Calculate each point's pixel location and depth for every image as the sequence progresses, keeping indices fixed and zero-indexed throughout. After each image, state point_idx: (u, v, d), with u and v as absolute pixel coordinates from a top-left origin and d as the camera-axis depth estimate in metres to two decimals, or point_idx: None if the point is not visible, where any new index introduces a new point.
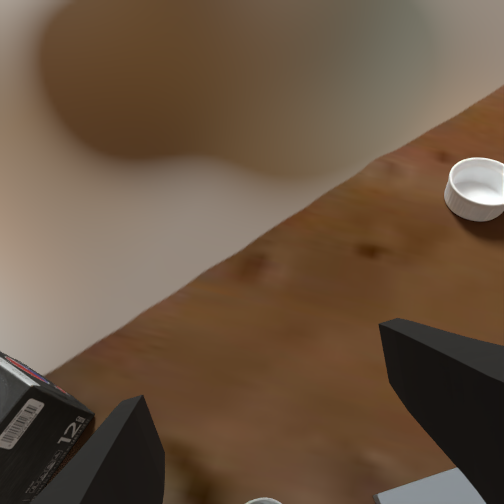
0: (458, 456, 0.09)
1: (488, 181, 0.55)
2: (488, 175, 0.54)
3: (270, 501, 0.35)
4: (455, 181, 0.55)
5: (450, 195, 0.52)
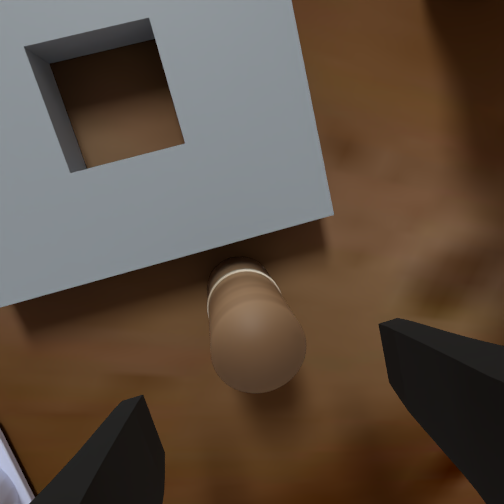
0: (458, 456, 0.09)
1: None
2: None
3: None
4: None
5: None
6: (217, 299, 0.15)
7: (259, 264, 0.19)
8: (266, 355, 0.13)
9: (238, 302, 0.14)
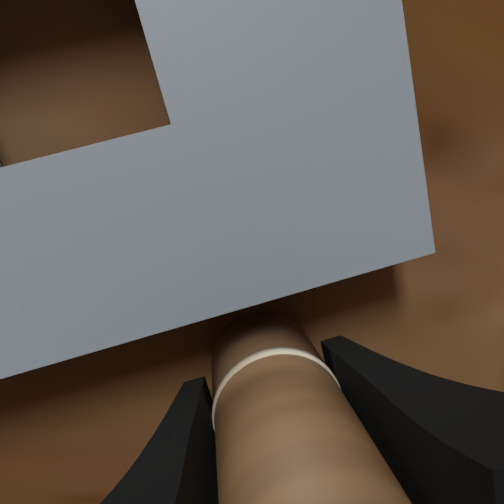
0: None
1: None
2: None
3: None
4: None
5: None
6: (233, 427, 0.08)
7: (296, 326, 0.12)
8: None
9: (285, 470, 0.06)
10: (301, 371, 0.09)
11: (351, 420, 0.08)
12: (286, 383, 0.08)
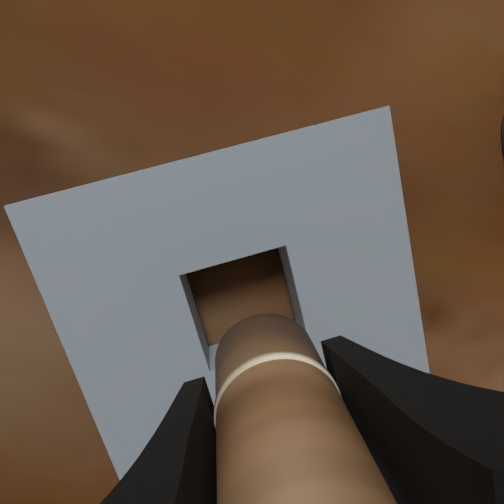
0: (386, 480, 0.09)
1: None
2: None
3: None
4: None
5: None
6: (229, 435, 0.08)
7: (295, 326, 0.12)
8: None
9: (271, 483, 0.06)
10: (296, 377, 0.09)
11: (343, 426, 0.08)
12: (280, 390, 0.08)
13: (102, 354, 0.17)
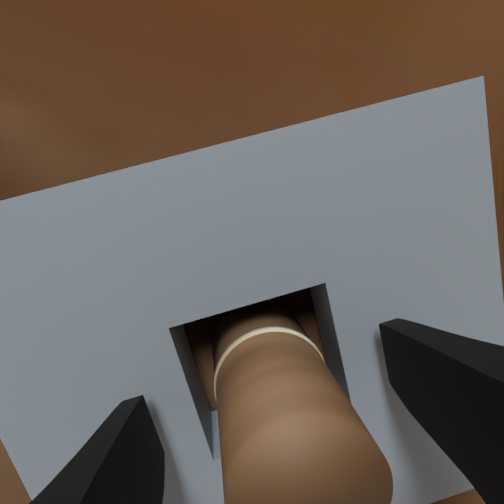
0: (458, 456, 0.09)
1: None
2: None
3: None
4: None
5: None
6: (229, 391, 0.09)
7: (284, 309, 0.14)
8: None
9: (267, 416, 0.08)
10: (285, 344, 0.10)
11: (326, 379, 0.09)
12: (272, 353, 0.10)
13: (56, 442, 0.11)
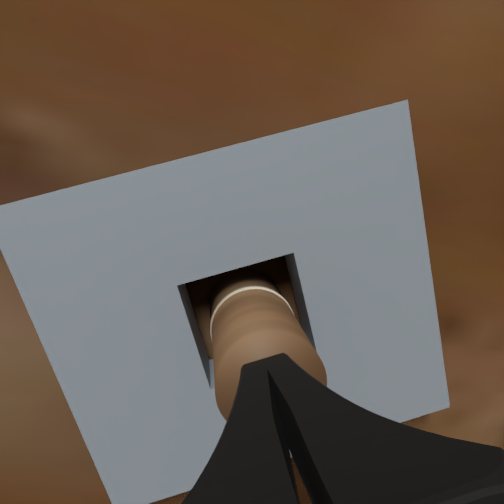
0: None
1: None
2: None
3: None
4: None
5: None
6: (220, 326, 0.13)
7: (266, 277, 0.17)
8: None
9: (244, 332, 0.12)
10: (262, 296, 0.14)
11: (288, 316, 0.13)
12: (251, 301, 0.14)
13: (93, 371, 0.15)
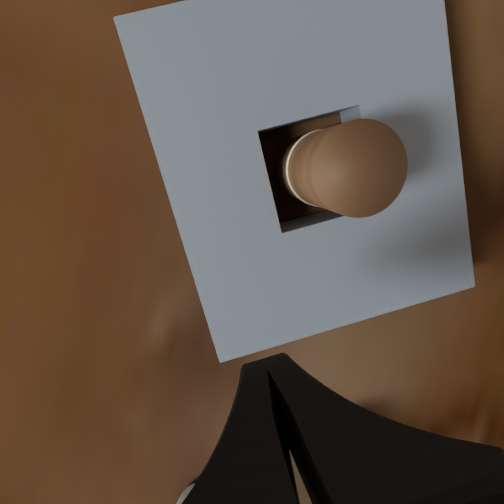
0: None
1: None
2: None
3: None
4: None
5: None
6: (313, 203, 0.16)
7: (283, 150, 0.19)
8: (367, 161, 0.13)
9: (313, 190, 0.14)
10: (292, 163, 0.16)
11: (307, 145, 0.15)
12: (295, 174, 0.16)
13: (347, 298, 0.19)
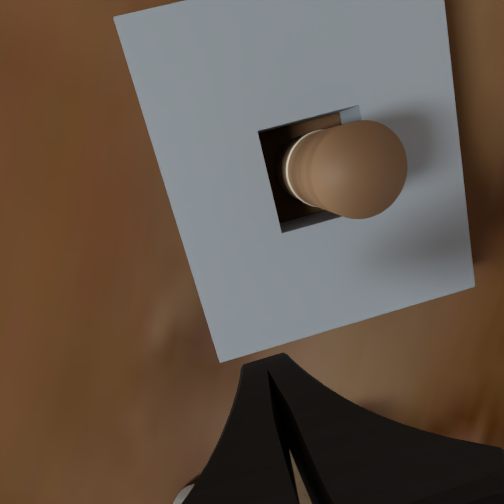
0: None
1: None
2: None
3: None
4: None
5: None
6: (313, 204, 0.16)
7: (283, 150, 0.19)
8: (367, 162, 0.13)
9: (313, 191, 0.14)
10: (292, 163, 0.16)
11: (307, 146, 0.15)
12: (295, 175, 0.16)
13: (347, 298, 0.19)
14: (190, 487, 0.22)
